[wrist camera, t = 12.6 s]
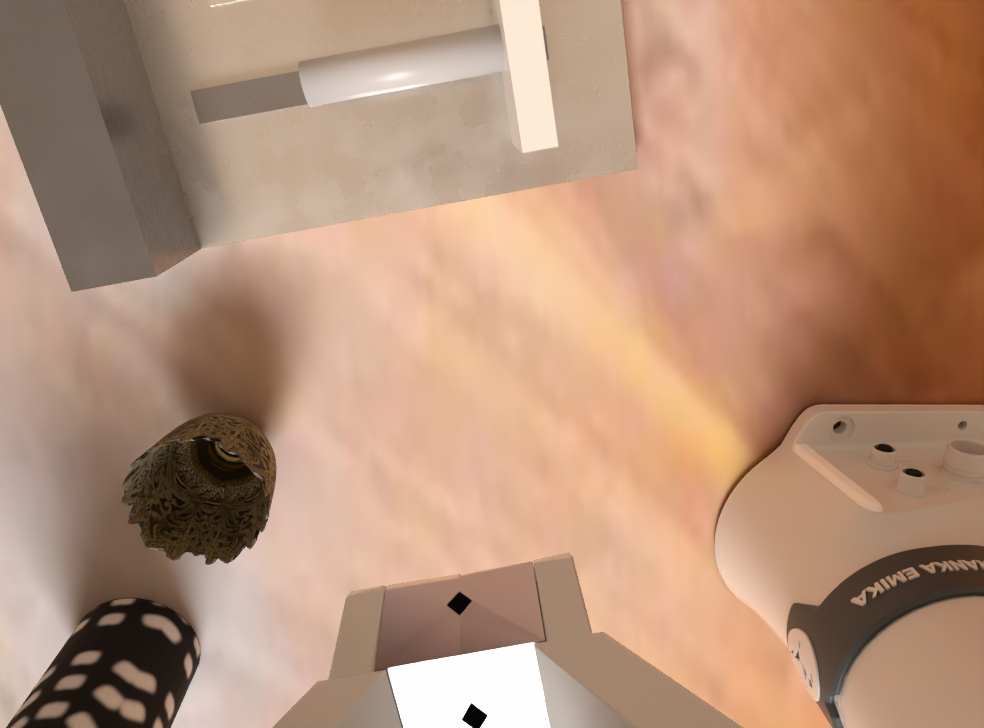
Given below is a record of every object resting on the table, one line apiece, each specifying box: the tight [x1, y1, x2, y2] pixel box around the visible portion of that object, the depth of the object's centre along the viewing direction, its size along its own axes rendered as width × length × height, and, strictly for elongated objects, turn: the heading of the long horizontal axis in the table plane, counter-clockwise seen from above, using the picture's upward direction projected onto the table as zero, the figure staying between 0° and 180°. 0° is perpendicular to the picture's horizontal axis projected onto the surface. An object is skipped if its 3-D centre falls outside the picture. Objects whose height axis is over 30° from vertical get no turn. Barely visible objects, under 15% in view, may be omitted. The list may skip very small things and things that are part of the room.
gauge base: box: [0, 0, 638, 292], centre depth 36 cm, size 28×14×8 cm, turn 100°
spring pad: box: [298, 0, 558, 153], centre depth 34 cm, size 11×12×6 cm
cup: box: [122, 414, 276, 565], centre depth 42 cm, size 8×7×8 cm
